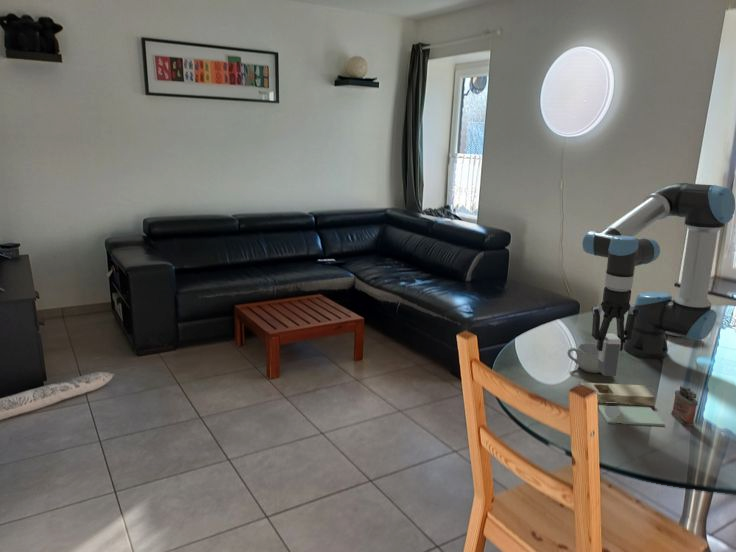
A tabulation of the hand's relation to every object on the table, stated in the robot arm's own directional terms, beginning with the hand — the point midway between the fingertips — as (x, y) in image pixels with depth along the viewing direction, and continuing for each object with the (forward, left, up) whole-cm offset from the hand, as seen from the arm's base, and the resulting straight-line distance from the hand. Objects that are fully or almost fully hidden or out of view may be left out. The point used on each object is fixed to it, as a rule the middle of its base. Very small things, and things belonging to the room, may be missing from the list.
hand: (608, 360), depth 170 cm
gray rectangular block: (0, 0, -4) cm, 4 cm away
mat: (-4, +11, -13) cm, 17 cm away
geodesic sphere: (-50, -61, -13) cm, 80 cm away
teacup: (-2, -22, -13) cm, 25 cm away
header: (-4, 0, -13) cm, 13 cm away
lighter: (-19, +12, -13) cm, 26 cm away
